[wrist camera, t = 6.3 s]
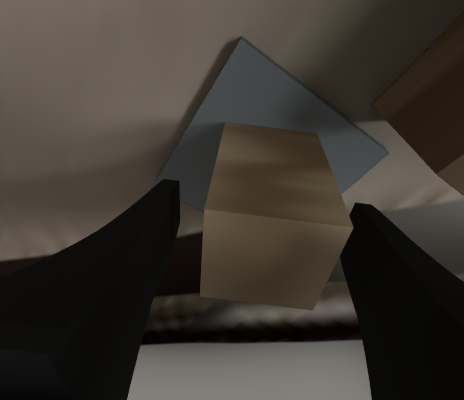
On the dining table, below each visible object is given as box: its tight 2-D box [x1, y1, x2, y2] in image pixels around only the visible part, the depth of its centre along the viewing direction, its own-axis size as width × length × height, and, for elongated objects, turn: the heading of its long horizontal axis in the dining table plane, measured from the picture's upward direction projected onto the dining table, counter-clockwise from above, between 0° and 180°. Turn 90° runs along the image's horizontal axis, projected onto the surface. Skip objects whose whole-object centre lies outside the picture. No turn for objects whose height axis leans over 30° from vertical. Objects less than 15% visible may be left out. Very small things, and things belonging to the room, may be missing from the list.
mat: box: [154, 36, 389, 212], centre depth 14 cm, size 8×8×1 cm
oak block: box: [200, 122, 354, 310], centre depth 11 cm, size 4×4×6 cm
